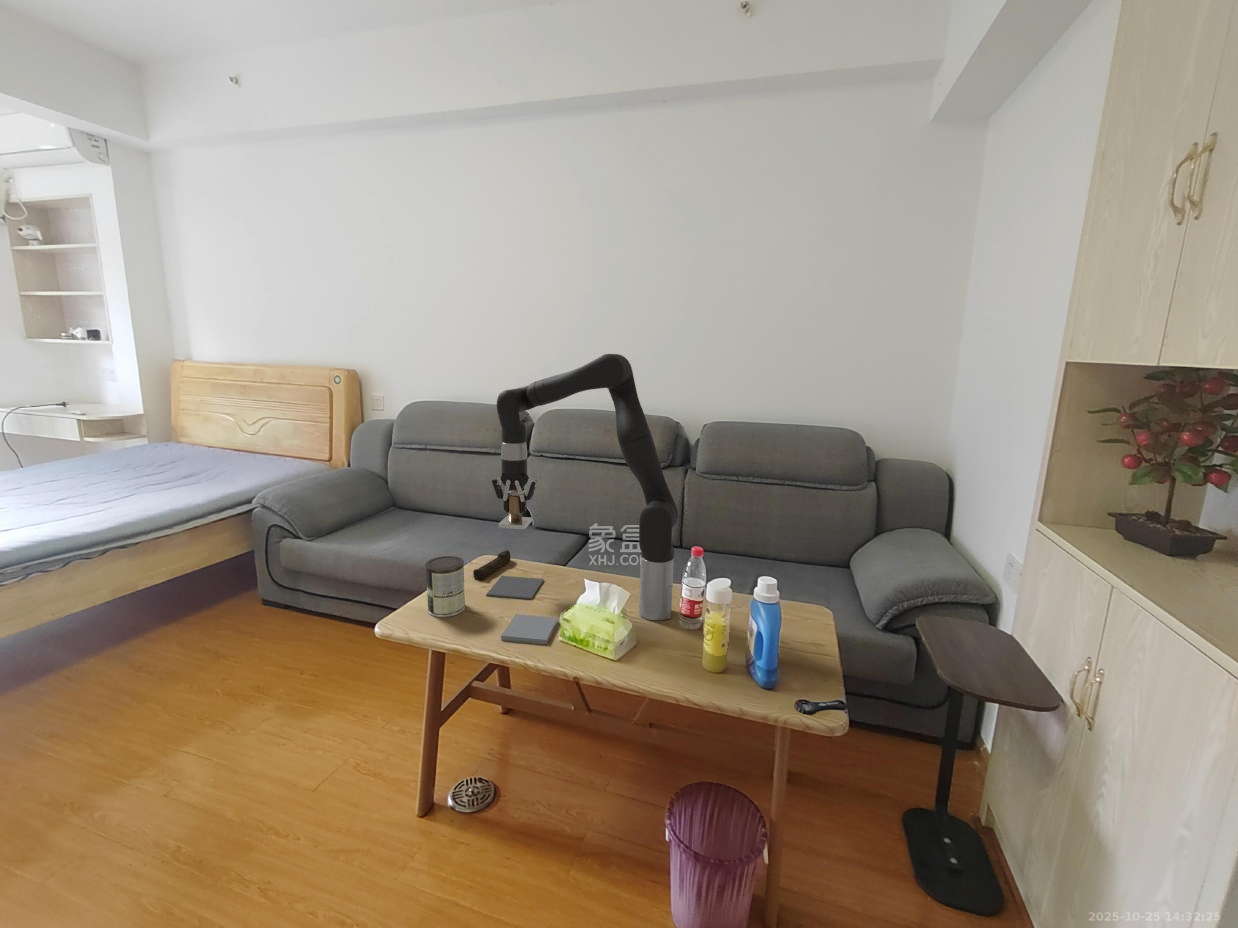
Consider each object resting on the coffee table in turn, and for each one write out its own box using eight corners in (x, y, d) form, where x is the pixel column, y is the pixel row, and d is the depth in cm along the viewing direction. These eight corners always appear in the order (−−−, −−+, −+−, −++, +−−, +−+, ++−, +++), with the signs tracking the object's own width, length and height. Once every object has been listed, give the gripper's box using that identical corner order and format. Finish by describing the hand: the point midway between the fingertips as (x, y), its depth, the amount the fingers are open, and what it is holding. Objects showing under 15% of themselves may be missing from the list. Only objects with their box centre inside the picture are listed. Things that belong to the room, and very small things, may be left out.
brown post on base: (531, 521, 172) (531, 492, 170) (524, 529, 164) (523, 499, 162) (507, 519, 173) (506, 491, 171) (498, 527, 165) (497, 497, 163)
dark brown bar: (482, 582, 177) (482, 568, 176) (472, 579, 179) (472, 566, 178) (516, 562, 194) (516, 550, 193) (507, 560, 196) (507, 547, 195)
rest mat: (543, 580, 179) (543, 578, 179) (531, 599, 165) (531, 597, 165) (501, 577, 181) (501, 575, 181) (486, 595, 167) (486, 594, 167)
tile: (558, 617, 152) (546, 639, 141) (558, 623, 153) (546, 646, 141) (515, 613, 154) (501, 635, 142) (515, 619, 154) (501, 641, 143)
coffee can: (419, 612, 156) (417, 565, 153) (445, 598, 165) (443, 553, 162) (447, 620, 152) (445, 572, 149) (472, 605, 161) (471, 559, 158)
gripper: (541, 455, 167) (541, 510, 171) (495, 453, 169) (496, 507, 172) (534, 460, 160) (534, 517, 163) (486, 458, 162) (488, 514, 165)
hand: (515, 512), depth 168 cm, fingers closed on brown post on base, 4 cm apart
